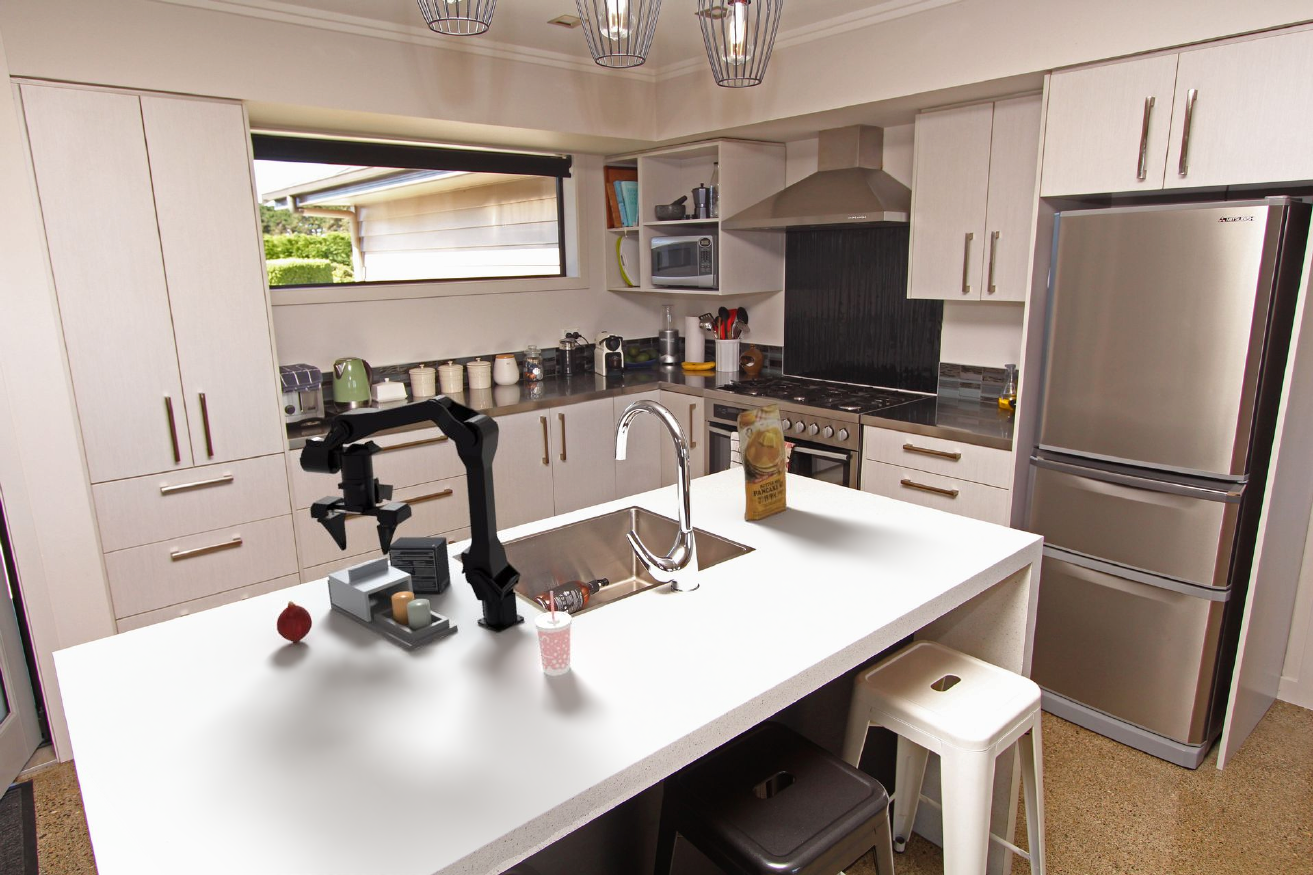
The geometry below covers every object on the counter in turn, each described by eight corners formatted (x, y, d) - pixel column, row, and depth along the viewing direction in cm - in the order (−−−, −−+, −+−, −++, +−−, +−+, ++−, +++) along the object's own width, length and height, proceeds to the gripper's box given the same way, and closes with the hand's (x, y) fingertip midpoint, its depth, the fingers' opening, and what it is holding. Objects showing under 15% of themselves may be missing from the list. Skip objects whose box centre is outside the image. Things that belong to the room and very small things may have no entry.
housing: (457, 629, 148) (454, 600, 146) (410, 650, 140) (407, 620, 139) (376, 591, 166) (373, 564, 164) (331, 608, 159) (327, 580, 157)
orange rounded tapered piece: (408, 613, 153) (406, 589, 152) (420, 619, 150) (417, 595, 149) (389, 620, 150) (387, 596, 149) (401, 627, 147) (398, 602, 146)
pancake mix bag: (728, 518, 203) (728, 412, 197) (776, 501, 216) (777, 400, 209) (748, 524, 198) (748, 415, 192) (796, 507, 211) (797, 404, 204)
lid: (414, 603, 157) (409, 563, 155) (367, 621, 149) (362, 580, 147) (377, 586, 165) (372, 548, 163) (332, 602, 158) (326, 563, 156)
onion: (321, 636, 147) (315, 596, 145) (298, 651, 142) (292, 610, 140) (296, 632, 149) (290, 593, 147) (272, 647, 143) (266, 606, 142)
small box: (452, 581, 170) (447, 535, 167) (441, 594, 163) (436, 547, 161) (404, 581, 171) (399, 535, 168) (392, 594, 164) (386, 546, 162)
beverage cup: (534, 663, 135) (528, 588, 132) (568, 655, 137) (563, 581, 134) (543, 681, 129) (538, 602, 126) (579, 672, 132) (574, 595, 128)
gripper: (423, 467, 156) (429, 541, 159) (340, 460, 160) (347, 533, 164) (392, 483, 145) (398, 562, 149) (304, 476, 150) (312, 553, 153)
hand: (364, 551), depth 154 cm, fingers open, 9 cm apart
